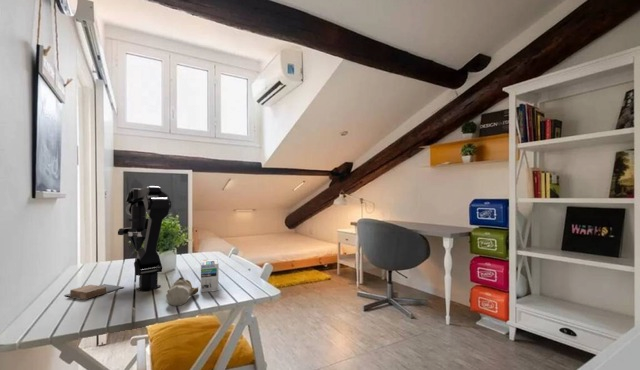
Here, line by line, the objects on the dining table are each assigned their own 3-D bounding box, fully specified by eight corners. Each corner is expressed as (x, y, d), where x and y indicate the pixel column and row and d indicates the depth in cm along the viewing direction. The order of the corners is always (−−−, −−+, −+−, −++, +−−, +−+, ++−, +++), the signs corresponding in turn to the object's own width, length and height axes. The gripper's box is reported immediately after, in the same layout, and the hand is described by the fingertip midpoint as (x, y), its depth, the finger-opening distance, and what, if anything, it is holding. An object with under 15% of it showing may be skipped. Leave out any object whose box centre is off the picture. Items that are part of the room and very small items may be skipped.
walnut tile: (106, 287, 112) (90, 284, 115) (86, 292, 105) (70, 289, 108) (106, 292, 112) (90, 290, 115) (86, 298, 105) (70, 295, 108)
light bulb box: (218, 290, 115) (218, 263, 116) (200, 293, 113) (200, 265, 113) (217, 283, 125) (217, 258, 125) (200, 285, 123) (201, 259, 123)
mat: (123, 287, 119) (123, 286, 119) (84, 299, 105) (84, 298, 105) (104, 284, 123) (104, 283, 123) (64, 296, 109) (64, 294, 109)
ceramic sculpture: (159, 282, 97) (171, 273, 111) (157, 309, 96) (170, 297, 110) (193, 280, 99) (200, 272, 114) (192, 307, 98) (199, 295, 113)
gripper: (169, 215, 134) (168, 249, 134) (140, 214, 141) (139, 247, 140) (148, 217, 124) (147, 254, 123) (117, 216, 130) (116, 251, 129)
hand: (138, 251), depth 129 cm, fingers closed
